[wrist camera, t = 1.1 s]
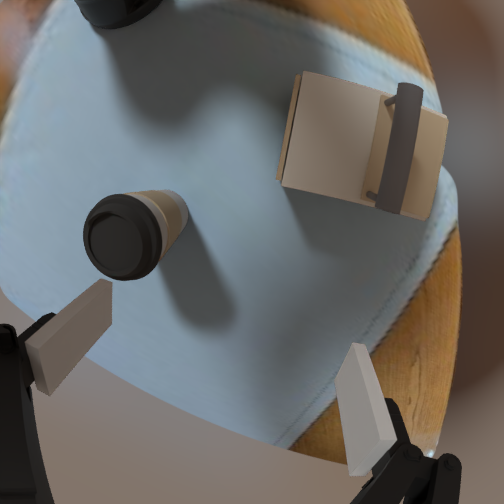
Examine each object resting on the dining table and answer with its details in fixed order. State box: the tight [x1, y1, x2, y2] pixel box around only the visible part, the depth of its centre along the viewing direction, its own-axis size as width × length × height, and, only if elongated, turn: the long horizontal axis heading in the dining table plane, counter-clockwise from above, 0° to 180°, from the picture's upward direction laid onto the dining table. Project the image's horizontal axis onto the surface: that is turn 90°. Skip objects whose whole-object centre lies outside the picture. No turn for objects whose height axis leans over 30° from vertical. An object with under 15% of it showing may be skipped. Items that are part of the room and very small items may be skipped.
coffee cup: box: [83, 190, 188, 281], centre depth 34 cm, size 9×9×15 cm
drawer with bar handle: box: [360, 83, 449, 218], centre depth 24 cm, size 11×8×8 cm
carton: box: [276, 71, 447, 221], centre depth 32 cm, size 12×17×9 cm
